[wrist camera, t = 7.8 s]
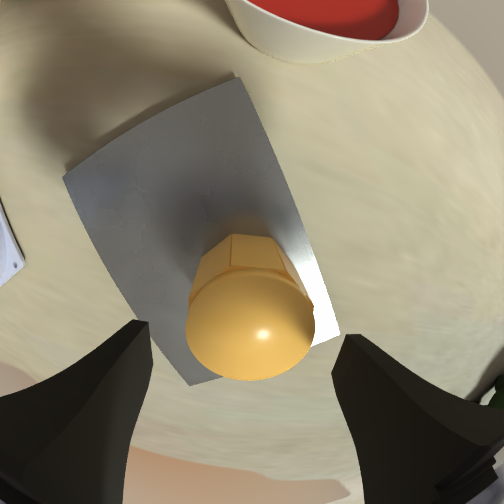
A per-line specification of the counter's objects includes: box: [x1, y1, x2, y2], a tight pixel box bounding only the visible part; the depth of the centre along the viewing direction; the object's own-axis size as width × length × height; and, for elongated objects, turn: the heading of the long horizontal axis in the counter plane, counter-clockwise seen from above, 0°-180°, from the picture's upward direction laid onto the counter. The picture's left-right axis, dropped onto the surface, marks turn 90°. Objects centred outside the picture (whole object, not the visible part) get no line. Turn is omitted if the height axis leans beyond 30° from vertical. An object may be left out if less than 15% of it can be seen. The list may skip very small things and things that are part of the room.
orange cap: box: [185, 233, 316, 380], centre depth 12 cm, size 5×5×5 cm
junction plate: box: [62, 77, 340, 386], centre depth 13 cm, size 11×16×4 cm
